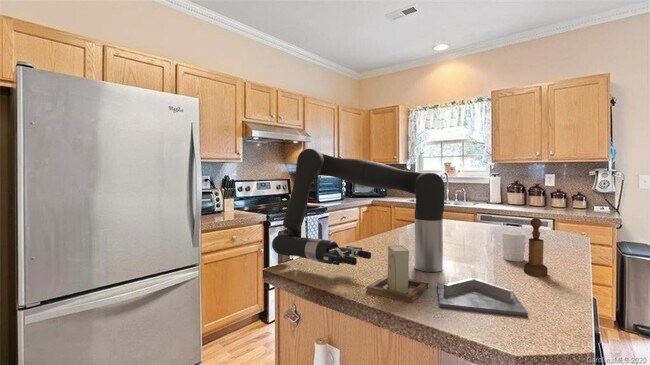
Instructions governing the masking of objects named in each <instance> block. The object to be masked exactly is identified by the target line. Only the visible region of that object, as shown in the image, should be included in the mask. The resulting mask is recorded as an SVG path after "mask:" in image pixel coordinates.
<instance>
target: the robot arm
mask: <svg viewBox="0 0 650 365" xmlns="http://www.w3.org/2000/svg"><path fill="white" fill-rule="evenodd" d="M295 167H296V168H295V174H294V176H295V177H294V180H293V185H292V191H291V194H290V198H289V201H288V204H287V206H286V207H287V208H286V211H285V214H284V218H283V221H282V225H283V227H284V228H285V229H287V234H278V235H276V236H275V237H274V238H273V240H272V241H271V248H272V249H273V251H274V252H275V253H277V254H278V255H281V256H282V255H283V256H289V257H290V256H292V257H299V258H301V259H307V260H311V261H314V262H317V263H322V264H327V265H335V266H340V265H345V264H346V265H351V266H357V264H358V263H357V262H358V259H357V258H362V259H367V260H370V259H372V252H371V251H369V250H364V249H363V248H362V247H358V246H351V245H345V246H340V247H339V245H338V243H337V242H336V241H334V240H328V239H322V238H311V237H302V226H303V222H304V219H305V217H306V212H307V210H308V204H309V196H310V190H311V187H312V185H313V182H314V180H315V177H316V176H322V177H323V176H324V177H330V178H331V177H333V178H337V179H340V180H343V181H345V182H348V183H351V184H354V185H357V186H363V187H366V188H373V189H381V190H382V189H383V190H396V191H401V192H406V193H409V194H412V195H415V209H414V268H415V270H418V271H420V272H426V273H427V272H428V273H437V272H442V271H443V268H444V267H443V266H444V264H443V263H444V262H443V261H444V260H443V258H444V254H443V253H444V252H443V251H444V250H443V249H444V244H443V243H444V238H443V236H444V235H443V234H444V233H443V232H444V231H443V230H444V229H443V226H444V225H443V224H444V223H443V221H444V218H443V217H444V211H445V192H446V191H445V189H446V188H445V182H444V180H443V178H442V177H441V176H440V175H439V174H437V173H436V172H432V171H431V172H425V171H424V172H421V171H420V172H419V171H410V170H405V169H404V170H403V169H399V168H397V167H395V166H391V165H388V164H385V163H381V162H377V161H372V160H367V159H360V158H344V157H341V158H340V157H336V156H332V155H330V154H329V155H328V154H325V153H323V152H319V151H318V150H316V149H314V148H305V149H303V150H302V151H301V152H300V153H299V154H298V156H297V160H296V166H295Z"/></svg>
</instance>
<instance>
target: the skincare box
mask: <svg viewBox="0 0 650 365" xmlns="http://www.w3.org/2000/svg"><path fill="white" fill-rule="evenodd" d="M409 260H410V250H409V249H408V248H407V247H404V245H401V244H400V245H399V244H397V245H387V275H388V283H387V287H388V290H392V291H397V292H401V293H405V294H408V293H409V286H408V279H409V267H410V266H409V262H410V261H409Z"/></svg>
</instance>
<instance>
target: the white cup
mask: <svg viewBox="0 0 650 365" xmlns="http://www.w3.org/2000/svg"><path fill="white" fill-rule="evenodd" d="M526 239H527V234H526V232H521V231H520V232H519V231H514V230H513V231H510V230H509V231H508V230H507V231H505V230H504V231H501V242H502V243H501V244H502V252H503V253H502V254H503V255H502V258H503V260H505V261H509V262H519V263H520V262H523V261H525V252H526V243H527V242H526Z"/></svg>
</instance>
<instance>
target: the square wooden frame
mask: <svg viewBox="0 0 650 365" xmlns="http://www.w3.org/2000/svg"><path fill="white" fill-rule="evenodd" d="M386 284H387V285H388V274H386V275H384V276H382V277H381V278H379V279H377V280H375V281H374V282H371V284H368V285H366V287H365V289H366V293H370V294H374V295H378V296H382V297H385V298H390V299H394V300H397V301H401V302H405V303H410V304H411V303H412V302H414V301H415V300H417V299H418V298H419V297H420V296H421V295H422V294H423V293H425V292H426V291H427V290H428V289H429V288H430V287H429V285H430V284H429V282H427V281H421V280H420V281H419V280H415V279H411V278H408V287H409V286H410V287H412V288H414V289H412V290H411V291H410V292H408V293H401V292H397V291H392V290H390V289H389V288H388V289H387V288H383V286H385V285H386Z"/></svg>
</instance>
